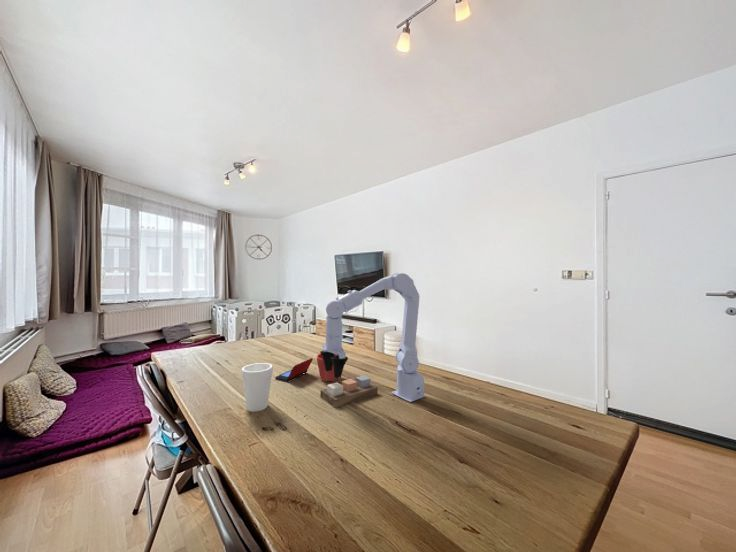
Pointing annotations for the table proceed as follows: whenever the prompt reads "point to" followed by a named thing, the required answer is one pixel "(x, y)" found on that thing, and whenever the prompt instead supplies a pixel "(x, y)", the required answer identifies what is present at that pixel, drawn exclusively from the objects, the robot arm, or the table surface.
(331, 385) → the ivory key
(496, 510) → the table surface
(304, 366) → the handheld game console
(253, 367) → the foam cup
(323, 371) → the flower pot
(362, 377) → the slate key
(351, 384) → the terracotta key
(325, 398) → the key frame
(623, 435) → the table surface
